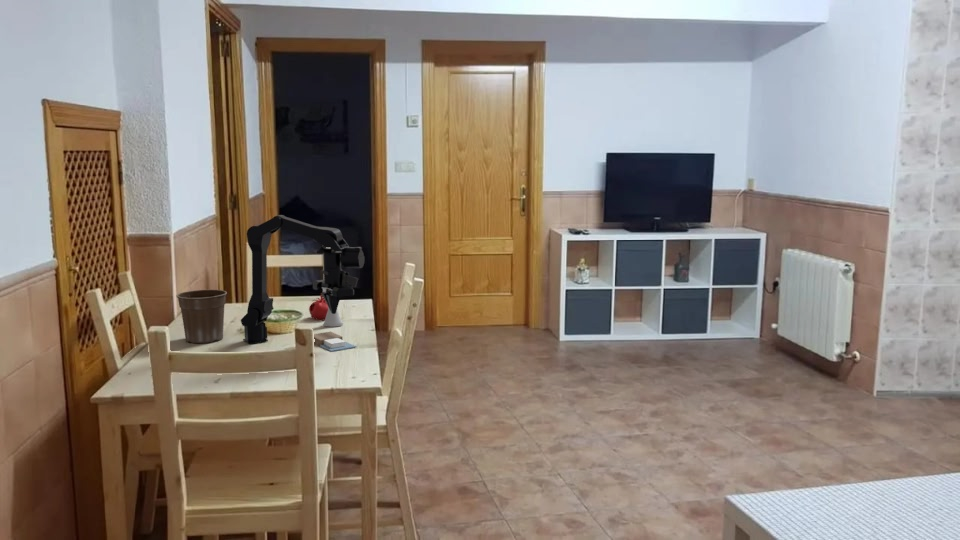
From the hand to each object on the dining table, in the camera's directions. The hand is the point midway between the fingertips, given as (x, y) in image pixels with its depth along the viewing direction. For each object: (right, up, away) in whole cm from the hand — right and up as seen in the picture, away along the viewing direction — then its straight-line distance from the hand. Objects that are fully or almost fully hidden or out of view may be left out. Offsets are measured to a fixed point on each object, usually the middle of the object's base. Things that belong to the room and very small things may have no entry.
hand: (333, 313), depth 252 cm
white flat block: (0, -11, 0) cm, 10 cm away
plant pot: (-46, -10, +9) cm, 48 cm away
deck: (-4, -10, +7) cm, 13 cm away
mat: (+1, -11, 0) cm, 11 cm away
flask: (-6, -6, +31) cm, 32 cm away
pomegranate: (-12, -4, +42) cm, 44 cm away
